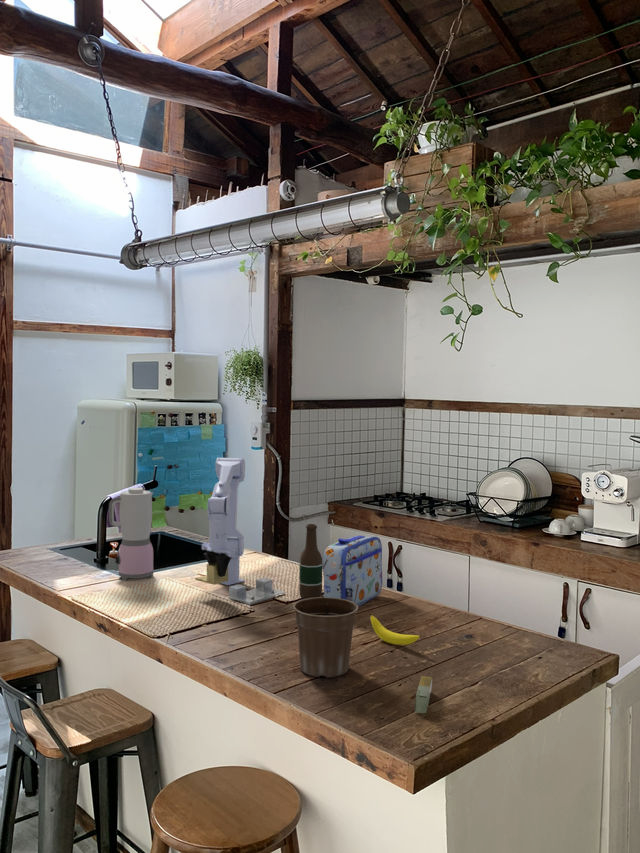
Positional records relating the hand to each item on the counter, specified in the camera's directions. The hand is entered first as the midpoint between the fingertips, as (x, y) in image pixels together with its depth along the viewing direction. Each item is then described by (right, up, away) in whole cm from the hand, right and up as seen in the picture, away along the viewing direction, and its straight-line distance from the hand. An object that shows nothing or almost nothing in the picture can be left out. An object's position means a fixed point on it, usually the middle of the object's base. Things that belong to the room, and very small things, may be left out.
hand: (218, 575), depth 242 cm
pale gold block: (-2, -2, +2) cm, 4 cm away
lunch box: (+44, -9, 0) cm, 45 cm away
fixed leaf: (+12, -8, +5) cm, 16 cm away
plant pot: (+34, -13, -55) cm, 66 cm away
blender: (-35, -6, +27) cm, 44 cm away
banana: (+53, -12, -37) cm, 66 cm away
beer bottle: (+30, -9, +7) cm, 32 cm away
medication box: (+57, -15, -73) cm, 94 cm away
